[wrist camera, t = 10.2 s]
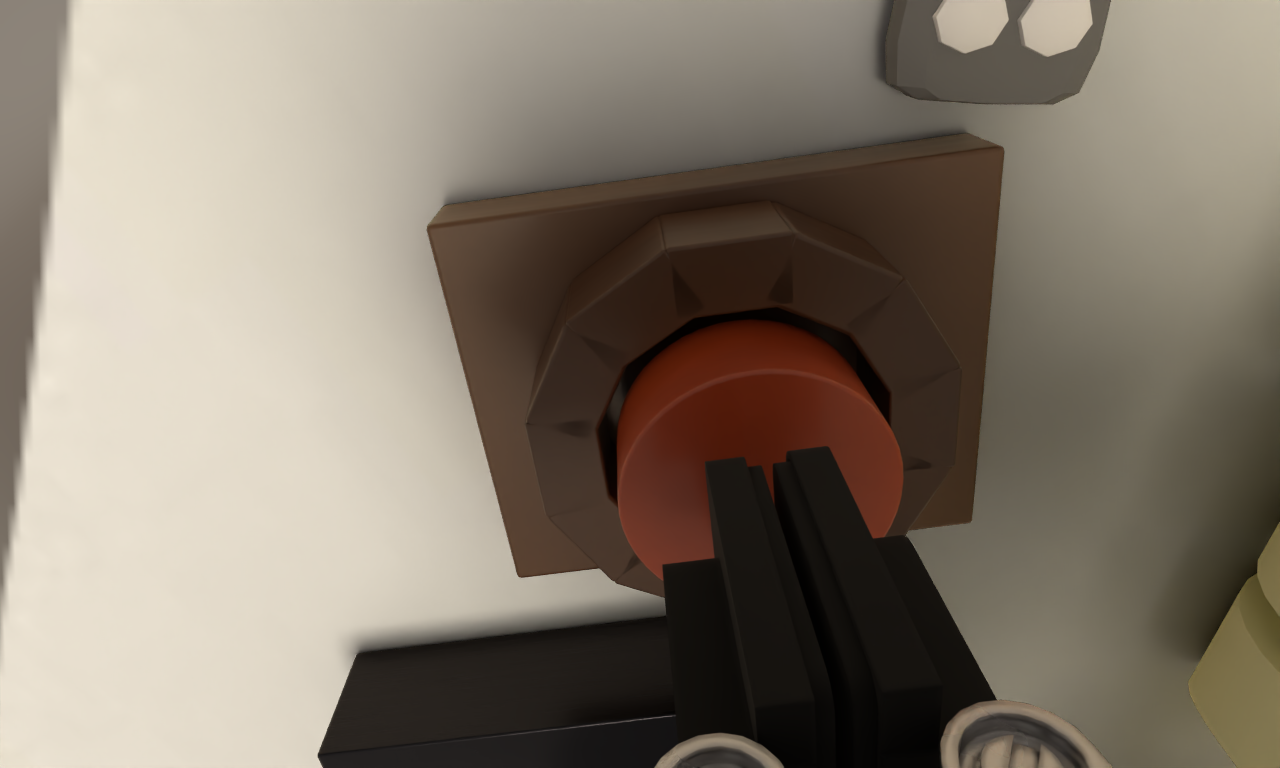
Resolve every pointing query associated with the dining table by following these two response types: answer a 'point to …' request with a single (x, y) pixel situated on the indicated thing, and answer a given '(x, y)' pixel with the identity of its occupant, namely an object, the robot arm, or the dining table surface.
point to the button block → (720, 317)
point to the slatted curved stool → (1246, 670)
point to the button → (742, 430)
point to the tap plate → (511, 702)
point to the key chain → (993, 49)
